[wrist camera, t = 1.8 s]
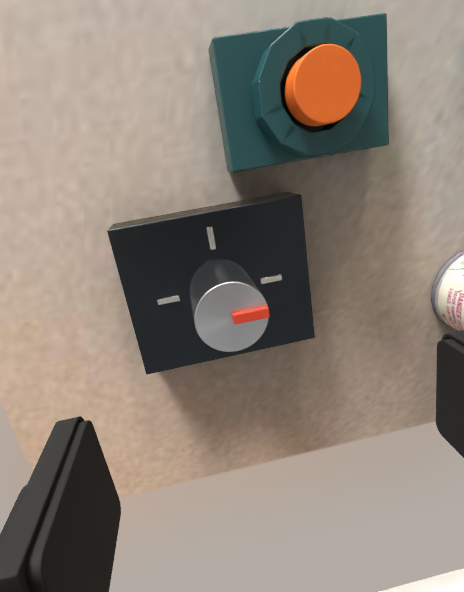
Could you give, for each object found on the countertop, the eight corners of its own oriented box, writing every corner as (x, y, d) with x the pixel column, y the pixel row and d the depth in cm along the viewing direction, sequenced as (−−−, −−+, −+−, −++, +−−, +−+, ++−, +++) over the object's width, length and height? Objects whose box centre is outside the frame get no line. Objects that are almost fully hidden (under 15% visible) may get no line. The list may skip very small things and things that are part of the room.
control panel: (148, 357, 29) (146, 376, 26) (112, 224, 25) (106, 230, 23) (303, 324, 30) (315, 338, 27) (289, 191, 26) (302, 194, 24)
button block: (227, 171, 25) (237, 172, 22) (208, 48, 23) (215, 26, 19) (372, 146, 26) (405, 143, 22) (368, 25, 24) (405, -1, 20)
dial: (195, 323, 26) (202, 361, 21) (183, 265, 24) (187, 292, 19) (254, 311, 26) (274, 346, 21) (245, 253, 25) (265, 276, 20)
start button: (287, 131, 22) (297, 128, 20) (280, 58, 20) (290, 48, 19) (348, 121, 22) (363, 117, 20) (345, 48, 21) (360, 38, 19)
